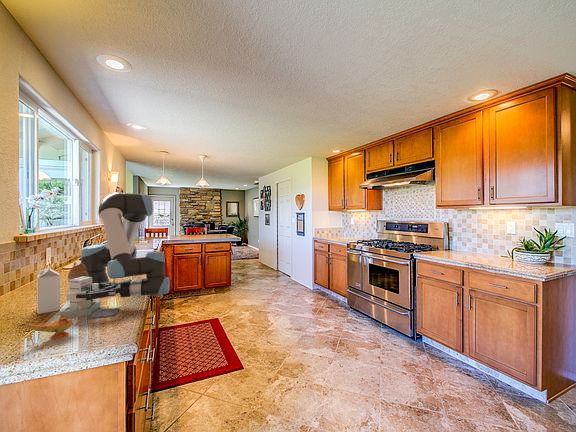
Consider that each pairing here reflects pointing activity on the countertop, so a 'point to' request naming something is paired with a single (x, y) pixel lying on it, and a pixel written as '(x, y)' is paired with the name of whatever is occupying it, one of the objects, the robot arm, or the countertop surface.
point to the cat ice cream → (77, 271)
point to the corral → (80, 310)
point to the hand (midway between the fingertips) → (74, 291)
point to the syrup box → (80, 286)
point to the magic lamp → (56, 325)
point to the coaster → (103, 313)
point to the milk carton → (48, 291)
